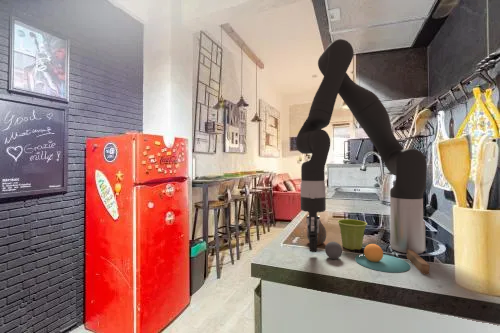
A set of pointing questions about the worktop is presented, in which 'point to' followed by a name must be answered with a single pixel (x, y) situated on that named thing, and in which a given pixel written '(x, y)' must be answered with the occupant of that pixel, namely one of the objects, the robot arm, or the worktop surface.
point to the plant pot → (352, 233)
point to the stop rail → (418, 262)
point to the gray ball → (333, 250)
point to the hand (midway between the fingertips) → (313, 251)
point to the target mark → (384, 264)
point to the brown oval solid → (320, 234)
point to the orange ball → (373, 252)
